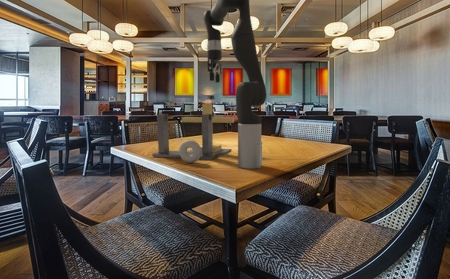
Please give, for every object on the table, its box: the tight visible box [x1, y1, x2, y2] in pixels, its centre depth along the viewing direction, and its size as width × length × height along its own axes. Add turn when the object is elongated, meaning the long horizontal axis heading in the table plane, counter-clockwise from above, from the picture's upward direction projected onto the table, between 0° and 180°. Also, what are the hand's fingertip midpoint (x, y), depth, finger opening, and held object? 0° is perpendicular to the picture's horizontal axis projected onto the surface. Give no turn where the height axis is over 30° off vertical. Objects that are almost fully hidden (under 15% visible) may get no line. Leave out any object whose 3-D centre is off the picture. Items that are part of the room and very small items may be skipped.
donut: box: [178, 139, 201, 164], centre depth 112 cm, size 10×4×10 cm, turn 76°
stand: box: [151, 113, 219, 161], centre depth 125 cm, size 30×10×20 cm, turn 73°
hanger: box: [181, 103, 235, 152], centre depth 137 cm, size 28×10×24 cm, turn 73°
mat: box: [187, 148, 232, 156], centre depth 138 cm, size 20×14×1 cm
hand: (214, 81), depth 140 cm, fingers open, 8 cm apart
